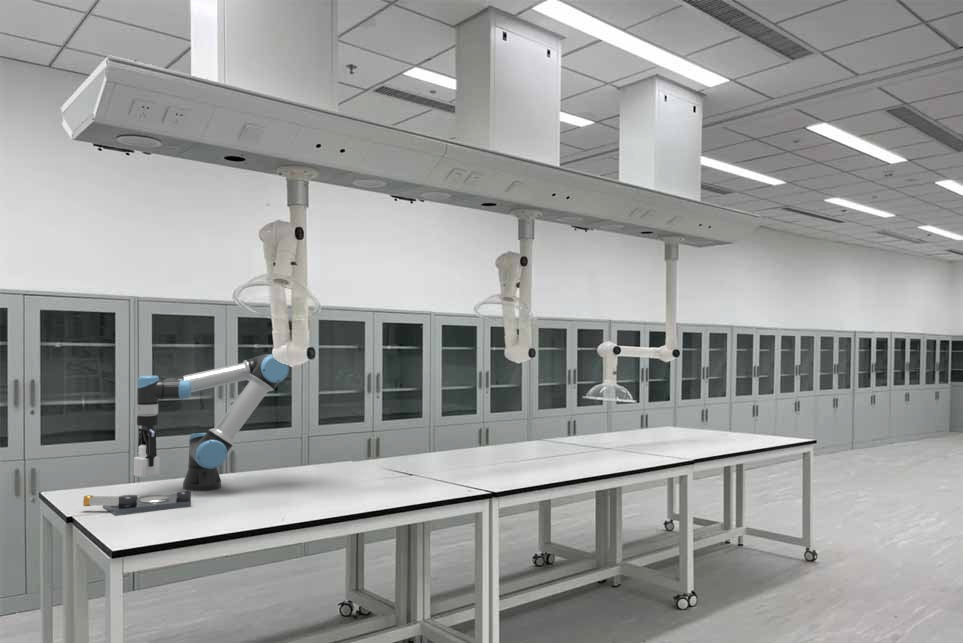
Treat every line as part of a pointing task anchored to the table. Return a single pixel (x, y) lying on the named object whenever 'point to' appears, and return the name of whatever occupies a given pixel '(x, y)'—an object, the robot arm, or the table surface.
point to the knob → (183, 496)
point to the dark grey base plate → (149, 505)
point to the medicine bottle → (144, 463)
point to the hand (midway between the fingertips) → (146, 473)
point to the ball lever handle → (110, 500)
